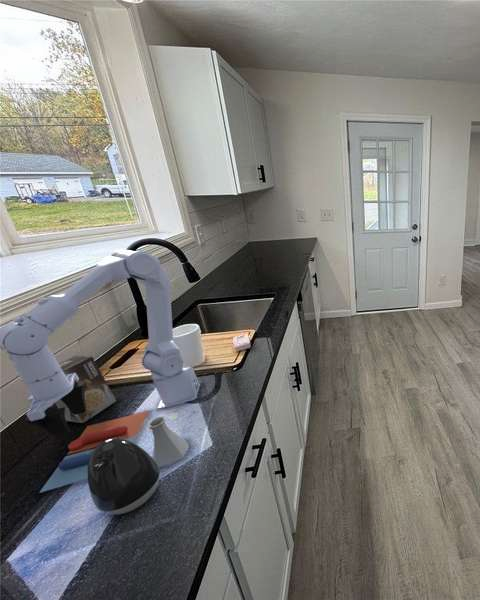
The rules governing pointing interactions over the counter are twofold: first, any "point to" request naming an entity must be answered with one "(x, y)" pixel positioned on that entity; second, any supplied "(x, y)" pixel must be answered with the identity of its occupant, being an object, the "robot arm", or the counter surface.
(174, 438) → the flask
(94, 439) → the red spoon
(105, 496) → the black rounded cone
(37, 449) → the counter surface
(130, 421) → the terracotta mat
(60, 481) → the blue mat
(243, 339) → the soap bar
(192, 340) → the foam cup
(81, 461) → the blue spoon
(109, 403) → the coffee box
